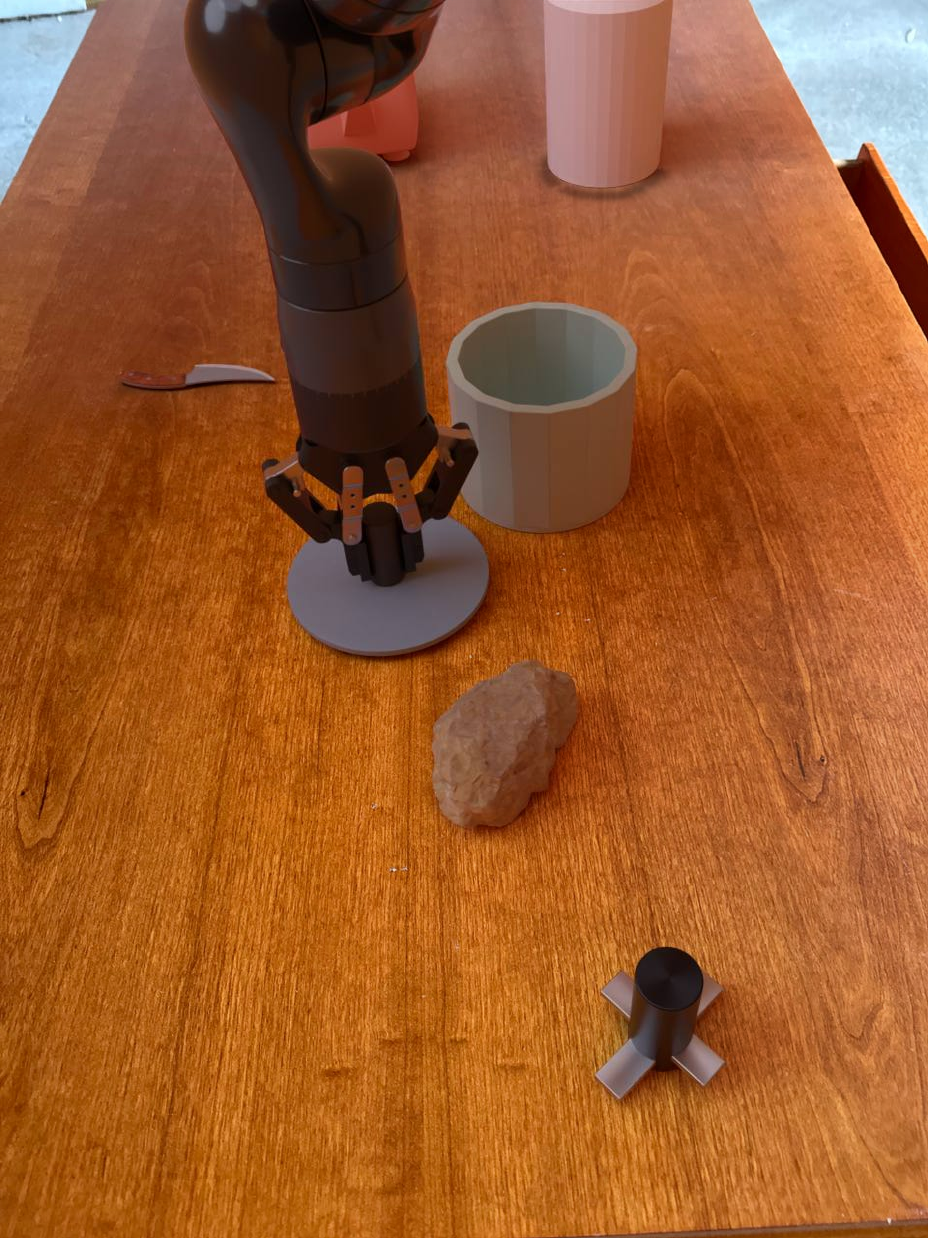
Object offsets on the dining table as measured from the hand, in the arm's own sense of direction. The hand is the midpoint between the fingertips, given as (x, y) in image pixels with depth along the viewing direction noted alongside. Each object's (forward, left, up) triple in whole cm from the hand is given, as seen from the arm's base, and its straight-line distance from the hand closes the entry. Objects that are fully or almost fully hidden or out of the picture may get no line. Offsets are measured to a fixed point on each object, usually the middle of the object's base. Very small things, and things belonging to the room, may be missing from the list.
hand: (387, 567), depth 76 cm
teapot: (-9, -65, -2) cm, 66 cm away
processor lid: (0, 0, -1) cm, 1 cm away
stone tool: (-4, +16, -2) cm, 17 cm away
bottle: (-32, -53, -2) cm, 62 cm away
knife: (+11, -28, -2) cm, 30 cm away
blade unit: (-7, +34, -2) cm, 35 cm away
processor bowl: (-13, -8, -2) cm, 15 cm away
